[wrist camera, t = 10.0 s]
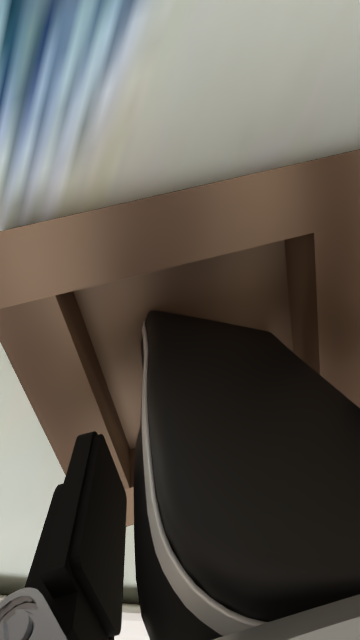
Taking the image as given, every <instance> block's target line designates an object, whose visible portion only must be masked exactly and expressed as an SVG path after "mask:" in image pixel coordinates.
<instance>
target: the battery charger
mask: <svg viewBox="0 0 360 640" xmlns="http://www.w3.org/2000/svg"><path fill="white" fill-rule="evenodd" d="M141 357H142V360H141V363H142V365H143V381H142V396H141V418H140V428H139V432H138V436H137V440H136V446H135V455H134V540H135V566H136V582H137V589H138V596H139V603H140V611H141V617H142V620H143V622H144V625H145V628H146V630H147V633H148V636H149V638H150V640H213V639H216V638H219V637H223V636H226V635H229V634H232V633H235V632H239V631H242V630H245V629H248V628H252V627H255V626H258V625H261V624H264V623H268V622H271V621H274V620H277V619H281V618H284V617H287V616H290V615H293V614H297V613H300V612H303V611H306V610H310V609H313V608H316V607H319V606H323V605H326V604H329V603H332V602H336V601H339V600H342V599H346V598H349V597H352V596H355V595H359V594H360V408H359V407H358V406H357V405H355V404H354V403H353V402H352V401H351V400H349V399H348V398H347V397H346V396H345V395H344V394H342V393H341V392H340V391H339V390H338V389H336V388H335V387H334V386H333V385H332V384H330V383H329V382H328V381H327V380H326V379H324V378H323V377H322V376H321V375H320V374H318V373H317V372H316V371H315V370H313V369H312V368H311V367H310V366H309V365H307V364H306V363H305V362H304V361H302V360H301V359H300V358H299V357H298V356H297V355H295V354H294V353H293V352H292V351H291V350H290V349H289V348H288V347H287V346H285V345H284V344H283V343H282V342H281V341H280V340H279V339H278V338H277V337H276V336H274V335H273V334H272V333H271V332H268V331H264V330H259V329H254V328H249V327H244V326H239V325H233V324H228V323H223V322H218V321H213V320H207V319H202V318H196V317H191V316H185V315H180V314H174V313H169V312H163V311H157V310H152V311H150V312H149V313H148V314H147V317H146V321H144V322H143V326H142V339H141Z"/></svg>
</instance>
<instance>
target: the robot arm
mask: <svg viewBox="0 0 360 640" xmlns="http://www.w3.org/2000/svg"><path fill="white" fill-rule="evenodd" d="M126 511H127V497H126V492H125V489H124V486H123V484H122V481H121V479H120V476H119V474H118V471H117V468H116V466H115V463H114V461H113V458H112V456H111V453H110V451H109V448H108V445H107V443H106V440H105V438H104V436H103V434H99V435H98V434H97V432H96V431H93V432H89V433H85V434H82V435H78V436H77V438H76V442H75V445H74V449H73V452H72V456H71V459H70V463H69V466H68V470H67V473H66V477H65V481H64V484H60V485H58V486H57V487H56V489H55V492H54V494H53V498H52V501H51V504H50V507H49V511H48V514H47V517H46V520H45V524H44V527H43V530H42V533H41V537H40V540H39V543H38V546H37V550H36V553H35V556H34V559H33V563H32V566H31V569H30V572H29V576H28V579H27V582H26V585H25V588H23V589H19V590H17V591H15V592H13V593H11V594H9V595H8V596H7V597H6V598H4V599H3V600H2V601H1V602H0V640H114V636H117V635H119V634H120V632H121V624H122V601H123V579H124V556H125V533H126ZM213 640H360V594H359V595H355V596H352V597H349V598H346V599H342V600H339V601H336V602H332V603H329V604H326V605H323V606H319V607H316V608H313V609H310V610H306V611H303V612H300V613H297V614H293V615H290V616H287V617H284V618H281V619H277V620H274V621H271V622H268V623H264V624H261V625H258V626H255V627H252V628H248V629H245V630H242V631H239V632H235V633H232V634H229V635H226V636H223V637H219V638H216V639H213Z"/></svg>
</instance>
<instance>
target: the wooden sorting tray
mask: <svg viewBox="0 0 360 640" xmlns="http://www.w3.org/2000/svg"><path fill="white" fill-rule="evenodd" d="M152 310H157V311H163V312H169V313H174V314H180V315H185V316H191V317H196V318H202V319H207V320H213V321H218V322H223V323H228V324H233V325H239V326H244V327H249V328H254V329H259V330H264V331H268V332H271V333H272V334H273V335H274V336H276V337H277V338H278V339H279V340H280V341H281V342H282V343H283V344H284V345H285V346H287V347H288V348H289V349H290V350H291V351H292V352H293V353H294V354H295V355H297V356H298V357H299V358H300V359H301V360H302V361H304V362H305V363H306V364H307V365H309V366H310V367H311V368H312V369H313V370H315V371H316V372H317V373H318V374H320V375H321V376H322V377H323V378H324V379H326V380H327V381H328V382H329V383H330V384H332V385H333V386H334V387H335V388H336V389H338V390H339V391H340V392H341V393H342V394H344V395H345V396H346V397H347V398H348V399H349V400H351V401H352V402H353V403H354V404H355V405H357V406H358V407H359V408H360V149H359V150H355V151H351V152H346V153H342V154H337V155H333V156H329V157H324V158H320V159H316V160H311V161H307V162H302V163H298V164H294V165H289V166H285V167H280V168H276V169H272V170H267V171H263V172H258V173H254V174H250V175H245V176H241V177H236V178H232V179H228V180H223V181H219V182H214V183H210V184H206V185H201V186H197V187H193V188H188V189H184V190H179V191H175V192H171V193H166V194H162V195H157V196H153V197H149V198H144V199H140V200H135V201H131V202H127V203H122V204H118V205H113V206H109V207H105V208H100V209H96V210H92V211H87V212H83V213H78V214H74V215H70V216H65V217H61V218H56V219H52V220H48V221H43V222H39V223H34V224H30V225H26V226H21V227H17V228H12V229H8V230H4V231H0V342H1V344H2V346H3V348H4V350H5V352H6V354H7V356H8V358H9V360H10V362H11V364H12V367H13V369H14V371H15V373H16V375H17V377H18V379H19V381H20V383H21V385H22V387H23V389H24V391H25V393H26V395H27V397H28V399H29V401H30V403H31V405H32V407H33V409H34V412H35V414H36V416H37V418H38V420H39V422H40V424H41V426H42V428H43V430H44V432H45V434H46V436H47V438H48V440H49V442H50V444H51V446H52V448H53V450H54V452H55V454H56V457H57V459H58V461H59V463H60V465H61V467H62V469H63V471H64V473H65V475H66V473H67V470H68V466H69V463H70V459H71V456H72V452H73V449H74V445H75V442H76V438H77V436H78V435H82V434H85V433H89V432H93V431H96V432H97V434H98V435H99V434H103V436H104V438H105V440H106V443H107V445H108V448H109V451H110V453H111V456H112V458H113V461H114V463H115V466H116V468H117V471H118V474H119V476H120V479H121V481H122V484H123V486H124V489H125V492H126V497H127V511H126V527H127V526H130V525H134V455H135V446H136V440H137V436H138V432H139V428H140V418H141V396H142V381H143V365H142V363H141V360H142V357H141V339H142V326H143V322H144V321H146V317H147V314H148V313H149V312H150V311H152Z"/></svg>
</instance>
